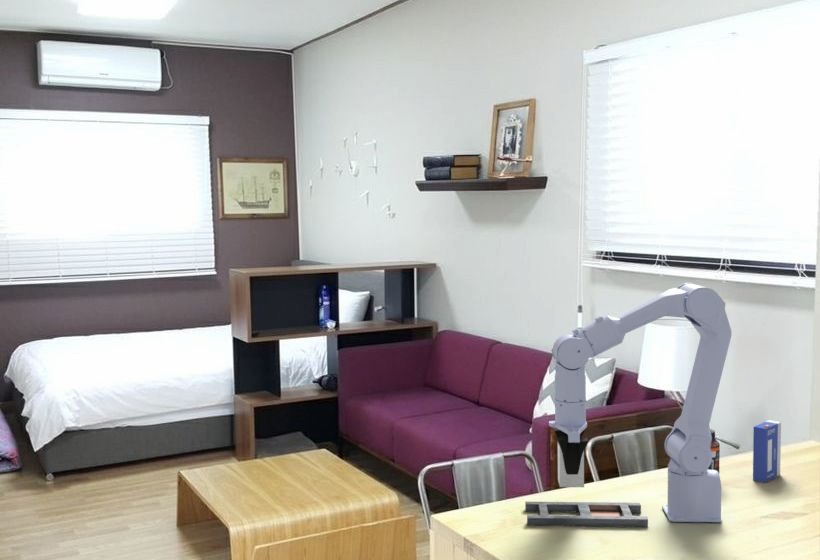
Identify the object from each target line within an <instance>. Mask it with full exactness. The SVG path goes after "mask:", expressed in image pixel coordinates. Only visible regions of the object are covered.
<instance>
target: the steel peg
mask: <svg viewBox="0 0 820 560" xmlns="http://www.w3.org/2000/svg"><path fill="white" fill-rule="evenodd" d="M557 482H558V486H559V488H585V450H584V451H583V454H582V457H581V462H580V468H579V472H578V474H577V475H567V473H566V470H565V465H564V459H563V453H562V450H561V447H560V445H559V443H558V442H557Z"/></svg>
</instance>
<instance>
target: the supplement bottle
mask: <svg viewBox="0 0 820 560" xmlns="http://www.w3.org/2000/svg"><path fill="white" fill-rule="evenodd" d="M710 431H711V436H712V441H711V446H710V448H711V453H712V462H711V464H710V466H709V468H708V469H709V470H717V471H718V473H719V474H720V460H721V459H720V453H721V452H720V451H721V449H720V448H721V447H720V443H719V441H718V440H717V439H716V438H715V437H716V430H714V429H712V428H710Z"/></svg>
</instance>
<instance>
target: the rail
mask: <svg viewBox="0 0 820 560" xmlns="http://www.w3.org/2000/svg"><path fill="white" fill-rule="evenodd" d="M524 506H525V507H524V508H525V512H530V513H531V512H533V513H538V515H537V514H527V515H526V525H527V526H528V527H581V526H585V527H586V528H587V527H589V528H591V527H593V528H594V527H595V528H598V527H599V528H601V527H602V528H649V519H648V516H637V515H635V516H634V515H633V514H642V504H641V503H640V502H611V501H609V502H603V501H602V502H601V501H600V502H597V501H596V502H595V501H591V502H590V501H588V502H586V501H525V505H524ZM590 511H594V512H619V514H620V516H592V515H591V512H590ZM549 513H577V515H561V514H560V515H553V514H552V515H549Z"/></svg>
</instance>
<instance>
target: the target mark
mask: <svg viewBox="0 0 820 560" xmlns="http://www.w3.org/2000/svg"><path fill="white" fill-rule="evenodd" d="M590 512H591V515H592V516H621V515H620V513H619V512H594V511H590Z"/></svg>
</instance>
